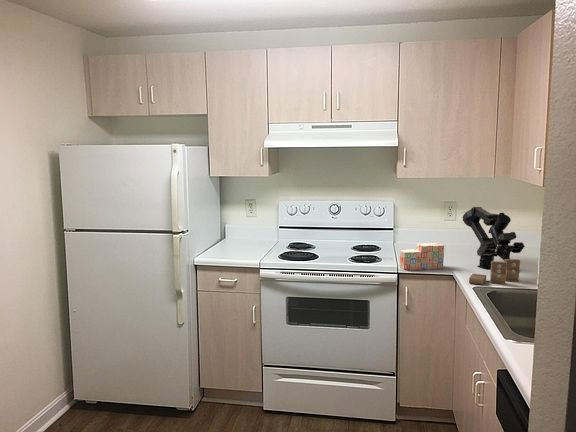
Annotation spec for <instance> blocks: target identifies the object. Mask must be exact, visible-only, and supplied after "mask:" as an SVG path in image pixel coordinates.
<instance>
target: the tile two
mask: <svg viewBox="0 0 576 432" xmlns="http://www.w3.org/2000/svg"><path fill="white" fill-rule="evenodd" d="M504 262H506V279H505V282H519V281H520V278H519V277H520V265H521V260H520V259H517V258H510V259H505V261H504Z"/></svg>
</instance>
